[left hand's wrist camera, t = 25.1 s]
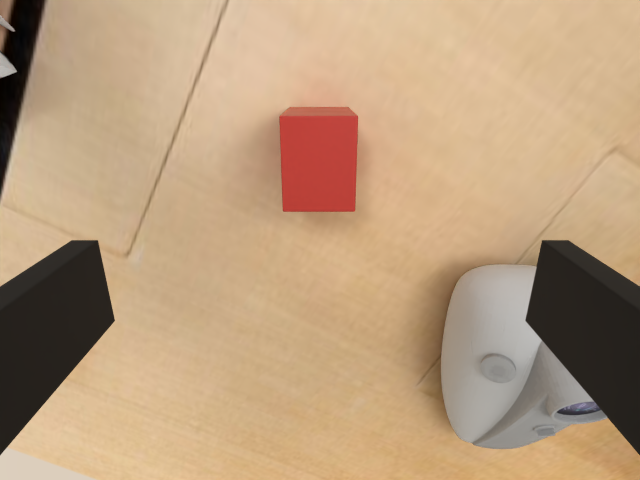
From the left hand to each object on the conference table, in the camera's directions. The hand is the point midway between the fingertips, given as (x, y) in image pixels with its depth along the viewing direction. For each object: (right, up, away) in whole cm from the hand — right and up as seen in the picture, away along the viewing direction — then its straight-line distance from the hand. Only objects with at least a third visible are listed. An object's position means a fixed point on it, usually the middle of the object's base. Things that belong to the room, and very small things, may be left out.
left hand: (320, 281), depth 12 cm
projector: (+21, -11, +34) cm, 41 cm away
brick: (0, +10, +26) cm, 28 cm away
